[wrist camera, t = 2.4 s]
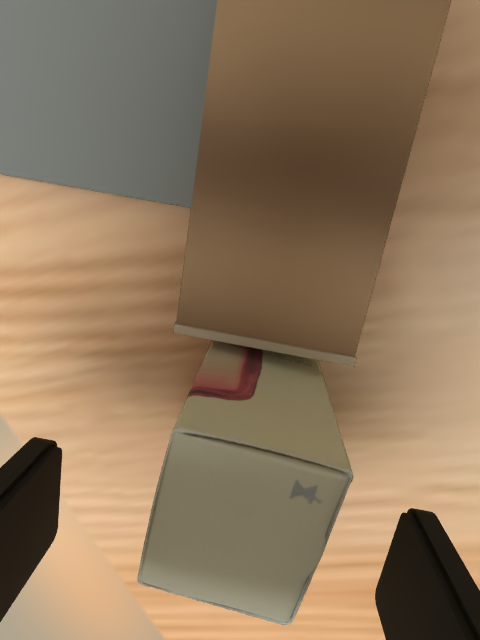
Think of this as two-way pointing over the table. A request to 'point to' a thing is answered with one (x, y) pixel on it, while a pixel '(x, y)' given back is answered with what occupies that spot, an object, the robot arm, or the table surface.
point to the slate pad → (105, 93)
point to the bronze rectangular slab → (302, 168)
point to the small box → (248, 485)
